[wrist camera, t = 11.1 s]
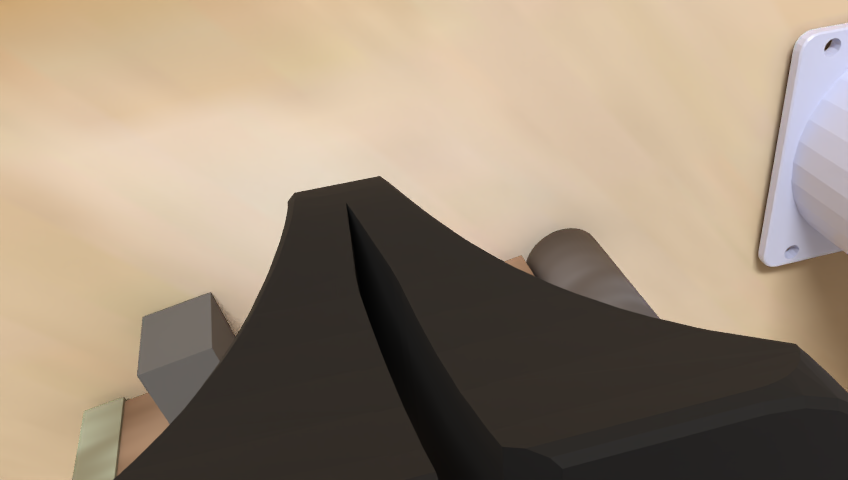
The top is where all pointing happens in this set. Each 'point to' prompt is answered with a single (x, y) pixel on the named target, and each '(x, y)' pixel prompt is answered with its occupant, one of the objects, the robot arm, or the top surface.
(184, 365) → the block
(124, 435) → the gate
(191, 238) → the top surface
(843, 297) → the top surface
